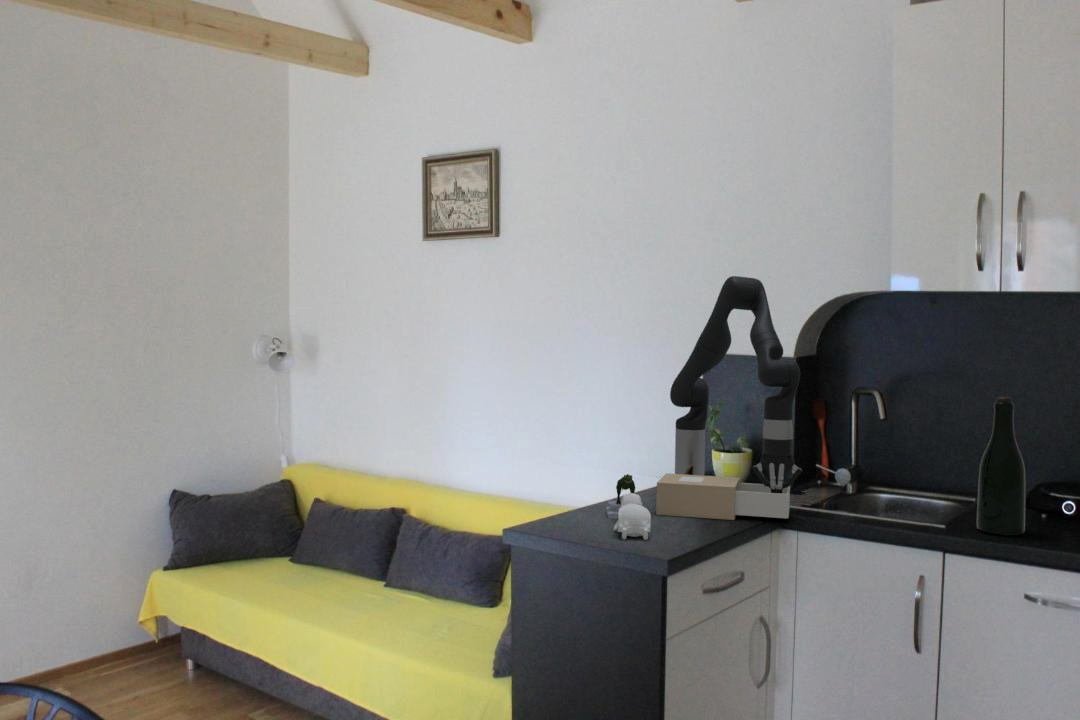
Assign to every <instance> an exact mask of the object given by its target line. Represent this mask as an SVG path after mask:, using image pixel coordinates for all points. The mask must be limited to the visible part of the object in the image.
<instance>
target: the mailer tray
mask: <svg viewBox="0 0 1080 720" xmlns="http://www.w3.org/2000/svg"><path fill="white" fill-rule="evenodd" d="M777 486H778V484H776V488H777ZM790 493H791V485H790V486H789V487H788V488H784V489H783V490H782V494H779V493H771V489H770V488H769V487H767V486H764V484H763V483H753V482H751V483H749V482H740V483H738V485H737V487H736V489H735V515H736V516H746V517H747V516H749V517H760V518H761V517H762V518H763V517H764V518H773V519H775V518H776V519H789V515H790V504H791V503H790V502H791V501H790V499H791V498H790V497H791V496H790V495H791V494H790Z"/></svg>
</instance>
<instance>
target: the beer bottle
mask: <svg viewBox="0 0 1080 720" xmlns="http://www.w3.org/2000/svg"><path fill="white" fill-rule="evenodd" d="M993 411H994V412H993V425H992V431H991V436H990V439H989V441H988V443H987V446H986V448H985V450H984V452H983V455H982V456H981V461H980V464H979V472H978V473H979V474H978V487H977V505H976V506H977V507H976V528H977V530H978V529H980V530H983V531H987V532H993V533H1001V534H1021V533H1023V534H1024V533H1025V531H1026V530H1025V529H1026V528H1025V527H1026V468H1025V462H1024V459H1023V457H1022V456H1023V455H1022V453H1021V451H1020V449H1019V446H1018V443H1017V440H1016V436H1015V428H1014V427H1015V424H1014V421H1015V420H1014V416H1015V415H1014V413H1015V404H1014V402H1013V398H1012V397H1009V396H998V397H996V402H994V403H993ZM980 530H979V531H980ZM1021 535H1022V534H1021Z"/></svg>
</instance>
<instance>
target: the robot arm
mask: <svg viewBox="0 0 1080 720" xmlns="http://www.w3.org/2000/svg"><path fill="white" fill-rule="evenodd" d="M733 310H742V311H751V312H752V314H753V316H754V317H755V318H754V321H753V323H752V325H751V328H750V332H749V338H750V342H751V345H752V348H753V351H754V353H755V355H756V358H757V359H756V360H757V361H756V362H757V377H758V381H759V382H760V383H761V385H763V386H765V387H768V388H781V389H780V391H779V392H778V394H774V395H771V396H768V397H766V398H765V400H764V411H763V413H764V417H763V418H764V420H763V425H762V452H761V453H762V455H761V458H760V462H759V463H757V464H756V465H753V466H752V471H753V472H754V474H755V476H756V477H757V478H758V479H759V480H760V481H761V484H764V486H767V487H769V488H770V489H771V493H779V494H782V490H783V489H784V488H788V487H789V486H790V487H791V485H792V484H793V483H794V482H795V480H797V478H798V477H799V476H800V475H801V474H802V471H803V469H802V468H801V467H799V466H797V465H796V464H795V460H794V458H793V448H794V447H793V445H794V444H793V442H794V441H793V439H794V425H793V405H794V400H795V398H796V397H795V396H796V393H797V389H798V386H799V384H800V380H801V369H800V366H799V364H798V363H797V361H796V360H793V359H781V358H783V355H784V347H783V345H782V343H781V341H780V338H779V336H778V334H777V332H776V329H775V327H774V324H773V320H772V315H771V310H770V306H769V302H768V297H767V293H766V290H765V287H764V284H763V282H762V281H761V280H760V279H759V278H753V277H746V276H739V275H738V276H736V275H731V276H729V277H728V278H726V280H725V281H724V283H723V284H722V286H721V289H720V291H719V294H718V296H717V299H716V302H715V303H714V307H713V308H712V312H711V315H710V316H709V318H708V320H707V322H706V324H705V326H704V328H703V329H702V330H701V331H702V332H701V334H700V335H699V337H698V339H697V340H696V343H695V344H694V348H693V349H692V352H691V353H690V355H689V357H688V359H687V360H686V362H685V364H684V365H683V366H682V368H681V370H680V371H679V372H678V374H677V375H676V377H675V379H674V380H673V382H672V385H671V388H670V393H669V396H670V397H669V398H670V402H671V403H672V404H673V405H674V406H675V407H679V408H690V409H689V412H687V413H686V414H685V415H683V416H681V417H679V418H678V417H677V419H676V421H675V442H674V443H675V444H674V445H675V446H674V448H675V449H674V474H685V471H686V470H687V468H688V467H689V466H690V465H691V464H693V475H702V476H705V469H706V468H705V465H706V463H705V462H706V461H705V459H706V458H705V457H706V453H705V451H706V424H707V421H708V420H707V419H708V408H709V407H708V406H709V395H710V394H709V392H710V391H709V386H708V383H707V381H706V380H705V379H704V378H703V377H702V376H704V375H705V374H707V373H708V372H710V371H711V370H712V369H714V368H715V367H717V366H718V365H719V364H720V363H721V362H722V361H723V360H724V359H725V356H726V355H727V353H728V351H729V349H730V347H731V344H732V333H731V331H730V327H729V323H728V319H729V316H730V314H731V312H732V311H733ZM763 469H764V471H765V472H766V474H768V476H769V480H768V479H767V478H766V477H767V476H765V474H764V473H763ZM791 469H792V470H791ZM790 470H791V473H792V474H791V475H790V476H789V478H787V480H786V481H784V477H785V476H786V475H787V474H788V473H789V472H790ZM776 476H778V477H776ZM776 478H777V480H776ZM776 481H777V482H776ZM776 485H778V486H777V488H776Z"/></svg>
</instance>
